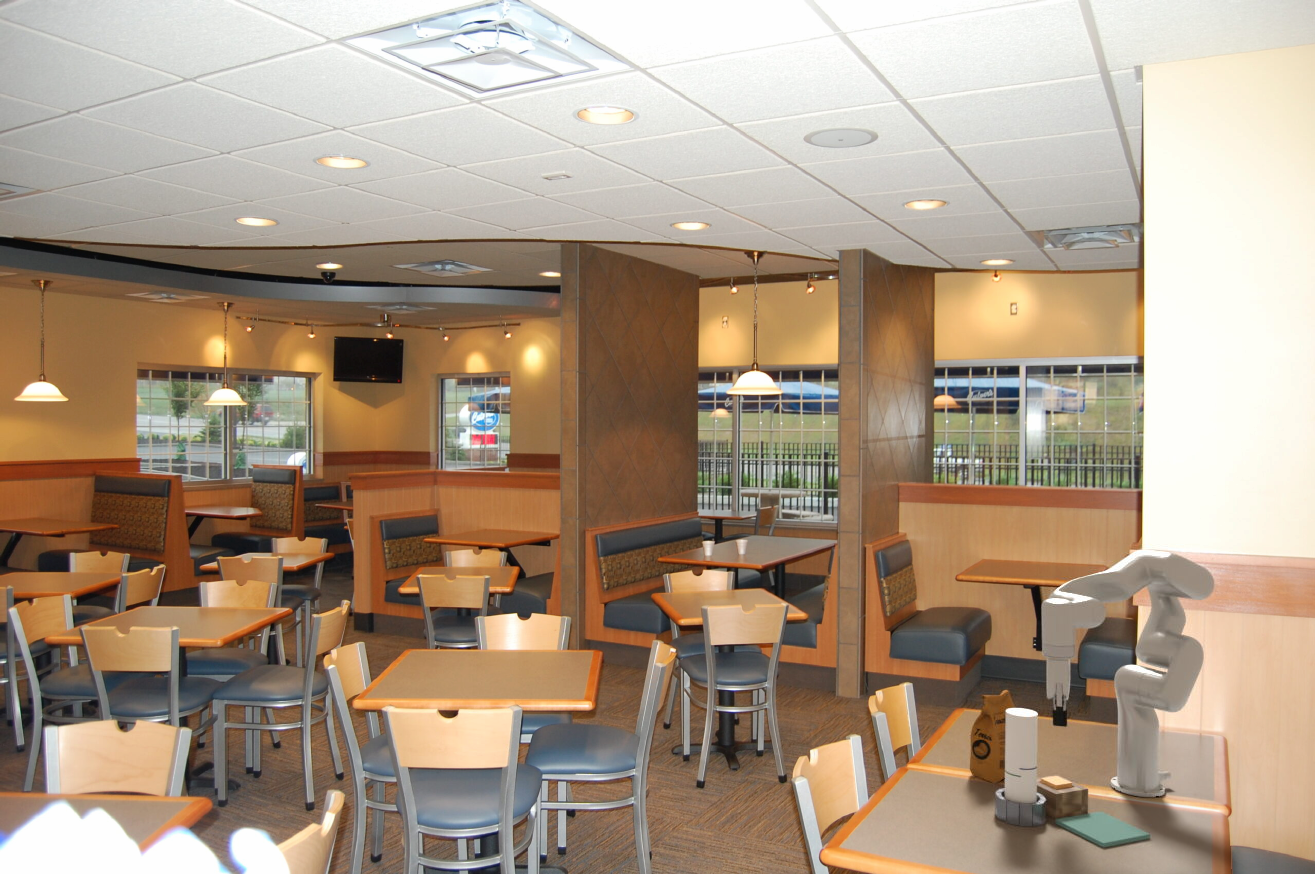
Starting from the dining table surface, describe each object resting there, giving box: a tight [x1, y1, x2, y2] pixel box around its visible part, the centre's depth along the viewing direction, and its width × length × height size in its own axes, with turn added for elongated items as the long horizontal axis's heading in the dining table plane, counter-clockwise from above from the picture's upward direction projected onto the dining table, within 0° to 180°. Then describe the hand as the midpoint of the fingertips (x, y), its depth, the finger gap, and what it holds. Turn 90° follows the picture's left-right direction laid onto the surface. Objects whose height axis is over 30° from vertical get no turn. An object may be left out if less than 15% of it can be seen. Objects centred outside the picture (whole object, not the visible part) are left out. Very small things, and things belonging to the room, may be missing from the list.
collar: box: [994, 787, 1047, 828], centre depth 232 cm, size 11×11×5 cm
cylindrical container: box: [1004, 707, 1039, 803], centre depth 232 cm, size 7×7×25 cm
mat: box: [1055, 811, 1151, 848], centre depth 224 cm, size 14×14×1 cm
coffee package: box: [969, 689, 1016, 784], centre depth 260 cm, size 10×12×22 cm
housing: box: [1037, 774, 1089, 820], centre depth 237 cm, size 10×10×6 cm
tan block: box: [1040, 775, 1073, 790], centre depth 237 cm, size 5×5×6 cm
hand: (1060, 724), depth 238 cm, fingers closed
